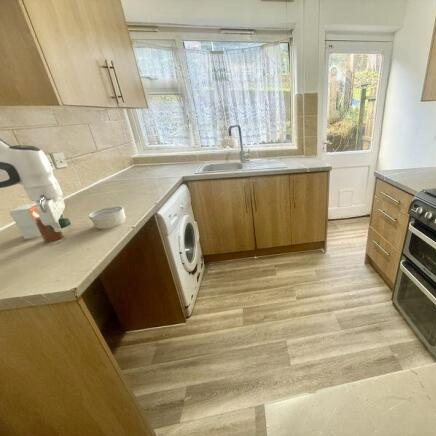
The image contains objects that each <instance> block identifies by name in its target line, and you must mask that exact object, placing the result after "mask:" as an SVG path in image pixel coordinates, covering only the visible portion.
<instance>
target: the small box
mask: <svg viewBox="0 0 436 436" xmlns="http://www.w3.org/2000/svg"><path fill="white" fill-rule="evenodd" d="M36 204H37V203H36V202H35V203H27V204H20V205H19V206H17V207H15V208H13V209H12V210H10V211H9V215H10V216H11V218H12V220H13V221H14V223H15V225H16V226H17V228H18V229H19V231H20V233H21V235H22V237H23V238H24V240H28V239H33V238H40V237H42V235H41V233H40V231H39V229H38V227H37V225H36V221H35V218H37V217H39V215H38V212H37V209H36Z"/></svg>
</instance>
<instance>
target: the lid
mask: <svg viewBox="0 0 436 436" xmlns="http://www.w3.org/2000/svg"><path fill="white" fill-rule="evenodd" d="M58 223H59V225H61V228H62V229H64V228H67V227H69V226H71V224H72V223H71V221H70V219H69V218H68V217H67V218H66V217H64V218H63V219H59V220H58ZM47 227H48V229H49V230H54V228H53V227H52V226H51V225H47Z"/></svg>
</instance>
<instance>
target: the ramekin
mask: <svg viewBox="0 0 436 436" xmlns="http://www.w3.org/2000/svg"><path fill="white" fill-rule="evenodd" d="M88 217H89V219H90V221H91V222H92V223H93V225H94V226H95V228H96V229H99V230H100V229H101V230H102V229H103V230H104V229H111V228H114V227H117V226H120V225H122V224H123V223H125V222H126V221H127V220H126V214H125V208H124V207H123V206H119V205H117V206H108V207H104V208H99V209H97V210H94V211H92V212H91V213H89V214H88Z"/></svg>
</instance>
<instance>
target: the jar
mask: <svg viewBox="0 0 436 436" xmlns="http://www.w3.org/2000/svg"><path fill="white" fill-rule="evenodd" d="M35 221H36V225H37V227H38V229H39V231H40V233H41V235H42V236H41V237H42V239H43V241H44V243H53V242H57V241H60V240H62V239H63V238H65V236H64V234H63V232H62V231H63V230H62V231H60V232H55V230H49V229H48V227H47V225H46V226H45V225H43V223H42V222H41V219H40V217H37V218H35Z"/></svg>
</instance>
